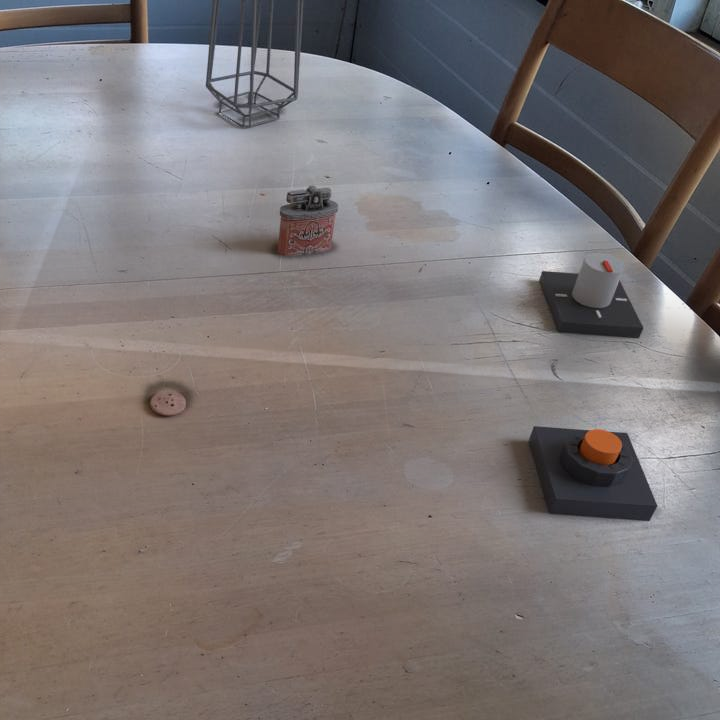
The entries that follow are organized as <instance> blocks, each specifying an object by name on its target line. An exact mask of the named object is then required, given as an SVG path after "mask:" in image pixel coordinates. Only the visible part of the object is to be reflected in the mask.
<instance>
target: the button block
mask: <svg viewBox="0 0 720 720" xmlns="http://www.w3.org/2000/svg"><path fill="white" fill-rule="evenodd" d="M590 430H591V429H577V428H567V427H566V428H564V427H550V426H536V425H534V426H533V427H532V430H531V434H530V436H529V438H528V445H529V450H530V452H531V456H532V459H533V462H534V466H535V469H536V473H537V477H538V480H539V484H540V487H541V491H542V494H543V497H544V501H545V504H546V508H547V511H548V514H549V515H556V516H558V515H559V516H560V515H561V516H572V517H584V518H585V517H587V518H598V519H599V518H601V519H613V520H628V521H640V522H641V521H642V522H650V521H651V519H652V517H653V515H654V514H655V512H656V510H657V508H658V504H657V500H656V498H655V496H654V494H653V491H652V489H651V486H650V484H649V481H648V480H647V476H646V474H645V472H644V469H643V467H642V465H641V463H640V460H639V458H638V455H637V453H636V450H635V448H634V446H633V443H632V441H631V438H630V436H629V434H628V433H629V432H619V431H610V432H611V433H613V434H614V435H616V436H617V437H618V438H619V439H620V441H621V443H622V448H621V450H620V452H619V454H618V457H617V459H616V461H615V462H614V463H613V464H611V465H598V464H596V463H593V462H591V461H589V460H587V459H586V458H584V457H583V456H582V455H581V453H580V446H581V444H582V442H583V439H584V437H585V434H586V433H587V432H588V431H590Z"/></svg>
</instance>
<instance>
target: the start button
mask: <svg viewBox="0 0 720 720" xmlns="http://www.w3.org/2000/svg"><path fill="white" fill-rule="evenodd" d="M589 430H590V431H588V432H587V433H586V434H585V437H584V439H583V442H582V444H581V446H580V453H581V455H582V456H583V457H584V458H586V459H587V460H589V461H591V462H593V463H596V464H598V465H611V464H613V463H614V462H615V461H616V459H617V457H618V454H619V452H620V450H621V448H622V443H621V441H620V439H619V438H618V437H617V436H616V435H614V434H613V433H611V432H612V431H608V430H605V429H600V428H599V429H597V428H594V429H589Z"/></svg>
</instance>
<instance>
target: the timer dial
mask: <svg viewBox="0 0 720 720" xmlns="http://www.w3.org/2000/svg"><path fill="white" fill-rule="evenodd" d="M581 263H582V264H581V267H580V269H579V272H578V274H579V275H578V277H577V280H576V283H575V286H574V289H573V291H572V297H573V298H574V299H575V300H576V301H577V302H578V303H580V304H582V305H584V306H587V307H592V308H604V307H607V306H608V305H610V303H611V300H612V298H613V295H614V293H615V290H616V288H617V285H618V283H619V280H620V281H621V278H622V275H623V272H624V270H625V264H624V262H623V261H622V260H621V259H620V258H618V257H616V256H614V255H611V254H608V253H604V252H591V253H588V254H586V255H585V256H584V258H583V261H582V262H581Z"/></svg>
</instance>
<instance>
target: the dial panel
mask: <svg viewBox="0 0 720 720" xmlns="http://www.w3.org/2000/svg"><path fill="white" fill-rule="evenodd" d="M578 275H579V273H574V272H561V271H551V270H550V271H549V270H547V271H546V270H542V271H541V274H540V277H539V279H538V283H539V285H540V288H541V291H542V293H543V296H544V299H545V301H546V305H547V307H548V309H549V311H550V315H551V317H552V320H553V323H554V325H555V328H556V331H557V333H559V334H561V333H562V334H574V335H590V336H601V337H602V336H603V337H617V338H629V339H640V337H641V335H642V333H643V330H644V326H643V324H642V322H641V320H640V318H639V316H638V314H637V311H636V310H635V307H634V306H633V304H632V302H631V299H630V297H629V296H628V293H627V292H626V290H625V288H624V285H623V284H622V282H621V279H620V280H619V283H618V285H617V288H616V290H615V293H614V295H613V298H612V300H611V303H610V305H608V306H607V307H604V308H592V307H587V306H584V305H582V304H580V303H578V302H577V301H576V300H575V299H574V298H573V297H572V291H573V289H574V286H575V283H576V280H577V277H578Z"/></svg>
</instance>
